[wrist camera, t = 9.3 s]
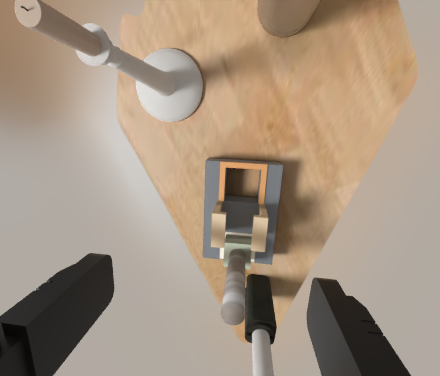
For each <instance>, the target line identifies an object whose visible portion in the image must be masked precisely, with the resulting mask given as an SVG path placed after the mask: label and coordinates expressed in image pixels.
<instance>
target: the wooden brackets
mask: <svg viewBox="0 0 440 376" xmlns="http://www.w3.org/2000/svg"><path fill="white" fill-rule="evenodd" d="M222 203H223V201H218V200H217V203H216V205H215V207H214V210H213V212H212V227H211V247H217V248H224V246H225V229H226V212H222ZM267 227H268V214H267V210H266V206H265V204H260V206H259V215H254V219H253V230H252V242H251V251H258V252H265V245H266V236H267Z"/></svg>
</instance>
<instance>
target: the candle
mask: <svg viewBox="0 0 440 376" xmlns="http://www.w3.org/2000/svg"><path fill="white" fill-rule="evenodd" d="M276 328H277V326H276V320H275V313H274V306H273V299H272V293H271V286H270V280H269V278H268V277H266V276H261V275H254V274H250V275H248V277H247V287H246V288H245V339H246V340H247V341H248V342H251V343H252V350H253V376H274V374H273V364H272V355H271V347H270V345H271V344H273V342H274V339H275V334H276Z"/></svg>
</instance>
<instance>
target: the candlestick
mask: <svg viewBox="0 0 440 376" xmlns="http://www.w3.org/2000/svg"><path fill="white" fill-rule="evenodd" d="M15 13H16V16H17V18H18V20H19V21H20V23H21V24H23V25H24V26H26V27H28V28H30V29H32V30H34V31H37V32H39V33H41V34H43V35H45V36H47V37H50V38H52V39H54V40H56V41H59V42H61V43H63V44H65V45H67V46H69V47H71V48H74V49H75V50H76V53H77V55H78V56H79V58H80V59H81V60H82V61H83V62H84V63H86V64H88V65H90V66H98V65H105V64H108V65H109V66H111V67H114V68H116V69H118V70H120V71H121V72H123V73H125V74H127V75H128V76H130V77H132V78H134V79H136V90H137V94H138V98H139V100H140V102H141V104H142V106H143V107H144V108H145V110H146V111H147V112H148V113H149V114H150V115H152V116H153V117H155V118H157V119H159V120H162V121H166V122H176V121H180V120H183V119H185V118H187V117H188V116H190V115H191V114H192V113H193V112H194V111H195V110H196V108H197V107H198V105H199V103H200V101H201V98H202V93H203V81H202V76H201V73H200V70H199V68H198V66H197V65H196V63H195V62H194V61H193V60H192V59H191V58H190V57H189V56H188V55H187V54H185V53H184V52H182V51H180V50H177V49H172V48H163V49H159V50H156V51H154V52H152V53H151V54H150V55H148V56H147V57H146V58H145V59H144V61H142V60H140V59H138V58H136V57H134V56H132V55H130V54H128V53H126V52H124V51H122V50H120V49H119V48H118V47H116V46H113V44H112V42H111V41H110V40H109V38H108V36H107V34H106V32H105V31H104V30H103V29H102V28H101V27H99V26H98V25H96V24H92V23H88V24H85V25H83V26H81V25H79V24H78V23H76V22H75V21H73V20H71V19H70V18H68V17H66V16H65V15H63V14H62V13H60V12H58V11H57V10H55V9H53V8H52V7H50V6H49V5H47V4H46V3H44V2H42V1H41V0H16V2H15Z"/></svg>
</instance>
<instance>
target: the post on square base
mask: <svg viewBox="0 0 440 376" xmlns="http://www.w3.org/2000/svg"><path fill="white" fill-rule="evenodd" d="M251 242H252V236H243V235H232V234H226V237H225V246H224V259H223V267H227V274H226V281H225V288H224V295H223V302H222V309H221V318H222V319H223V321H224V322H226V323H227V324H230V325H238V324H240V323H242V322H243V320H244V318H245V269H250V263H251Z"/></svg>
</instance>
